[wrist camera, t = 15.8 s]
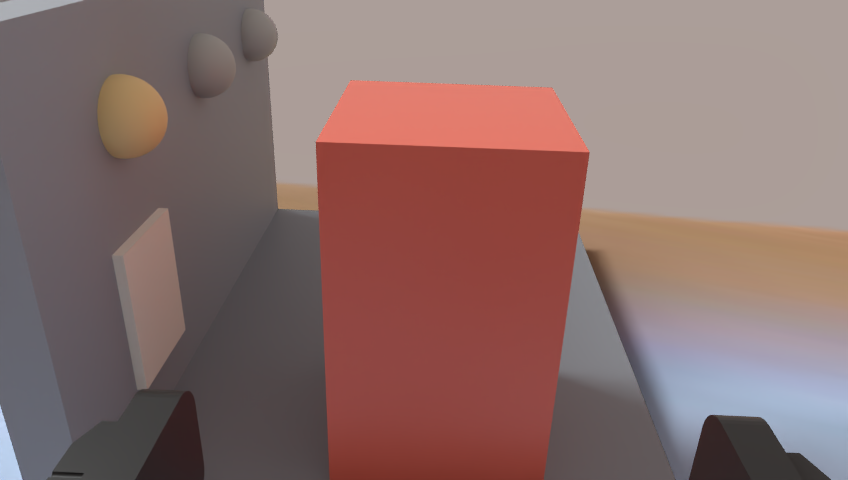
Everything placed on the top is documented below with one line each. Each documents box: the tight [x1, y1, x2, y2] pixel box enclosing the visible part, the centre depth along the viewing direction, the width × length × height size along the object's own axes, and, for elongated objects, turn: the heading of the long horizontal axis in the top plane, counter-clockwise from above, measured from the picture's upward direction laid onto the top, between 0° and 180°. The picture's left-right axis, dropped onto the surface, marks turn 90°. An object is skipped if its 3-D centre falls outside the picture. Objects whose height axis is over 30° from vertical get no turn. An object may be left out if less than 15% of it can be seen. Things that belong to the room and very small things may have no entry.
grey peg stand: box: [0, 0, 675, 480], centre depth 25 cm, size 17×21×14 cm
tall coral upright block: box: [316, 80, 589, 480], centre depth 20 cm, size 6×6×10 cm
